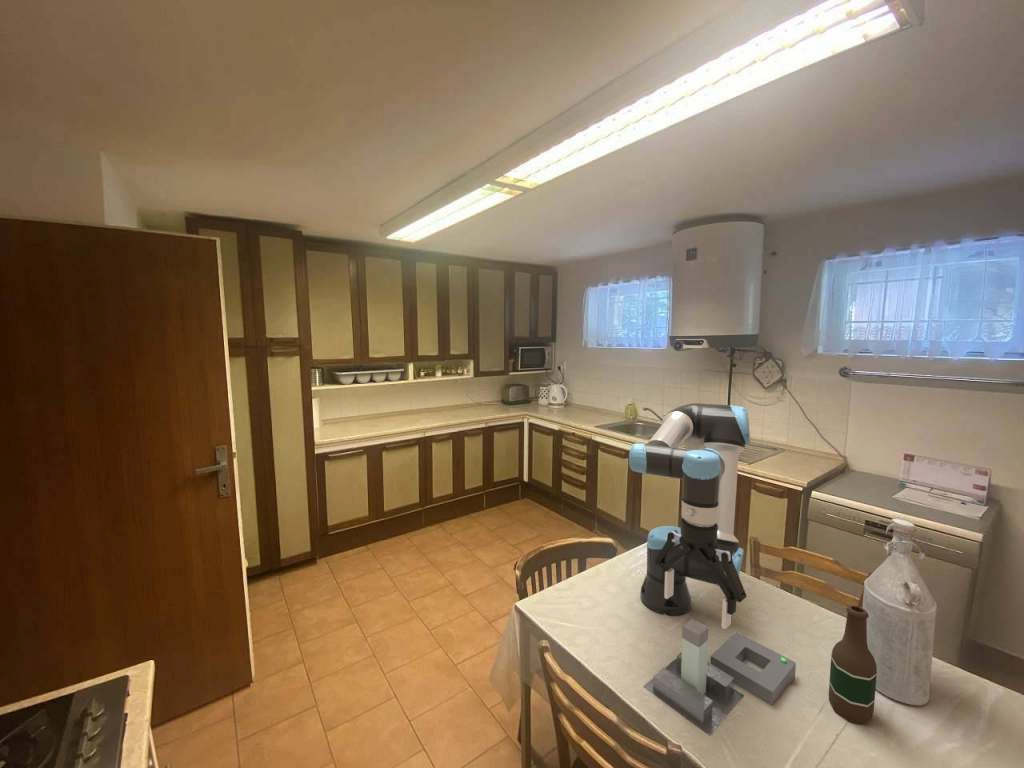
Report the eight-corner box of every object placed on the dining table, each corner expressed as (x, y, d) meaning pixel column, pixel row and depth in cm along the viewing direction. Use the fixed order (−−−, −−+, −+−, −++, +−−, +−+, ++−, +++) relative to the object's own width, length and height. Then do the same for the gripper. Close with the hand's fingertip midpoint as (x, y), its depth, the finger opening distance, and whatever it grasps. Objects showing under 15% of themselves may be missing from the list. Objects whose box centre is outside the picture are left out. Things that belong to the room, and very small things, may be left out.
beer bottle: (819, 697, 97) (825, 599, 94) (850, 694, 97) (857, 597, 95) (849, 727, 89) (857, 621, 87) (882, 724, 90) (891, 619, 87)
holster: (643, 689, 99) (643, 672, 99) (679, 658, 109) (680, 642, 109) (709, 739, 87) (710, 720, 86) (744, 698, 96) (745, 681, 96)
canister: (869, 698, 96) (882, 532, 92) (850, 649, 112) (860, 505, 108) (944, 720, 90) (961, 544, 87) (913, 665, 106) (926, 514, 102)
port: (710, 670, 105) (710, 653, 104) (735, 645, 113) (736, 629, 113) (771, 708, 94) (772, 689, 93) (794, 677, 102) (796, 660, 102)
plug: (680, 689, 98) (682, 625, 97) (689, 681, 101) (691, 618, 99) (697, 701, 95) (699, 635, 93) (705, 692, 97) (708, 627, 96)
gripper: (641, 507, 101) (639, 591, 103) (751, 546, 82) (746, 648, 83) (659, 500, 106) (656, 580, 108) (767, 535, 86) (762, 632, 88)
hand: (695, 610), depth 96 cm, fingers open, 13 cm apart
